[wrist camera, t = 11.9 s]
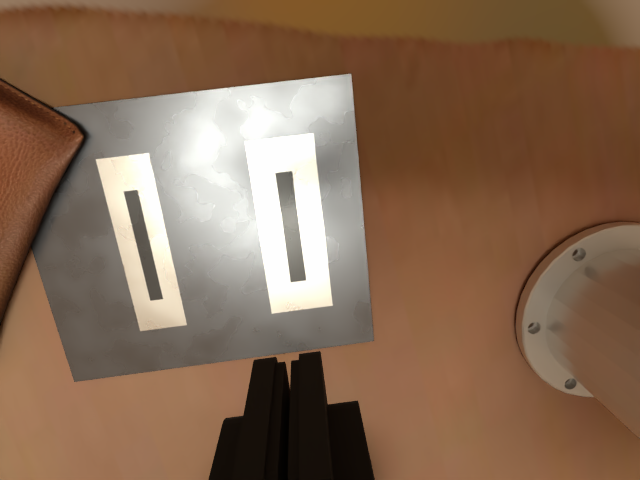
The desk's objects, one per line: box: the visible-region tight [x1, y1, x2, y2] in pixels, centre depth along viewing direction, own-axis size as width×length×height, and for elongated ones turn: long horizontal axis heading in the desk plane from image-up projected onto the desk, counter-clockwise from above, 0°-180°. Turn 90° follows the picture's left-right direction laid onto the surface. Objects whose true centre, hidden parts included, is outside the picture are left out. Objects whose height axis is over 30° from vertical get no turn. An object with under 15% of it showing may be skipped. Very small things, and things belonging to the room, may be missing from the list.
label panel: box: [31, 74, 374, 382], centre depth 27 cm, size 20×17×1 cm
